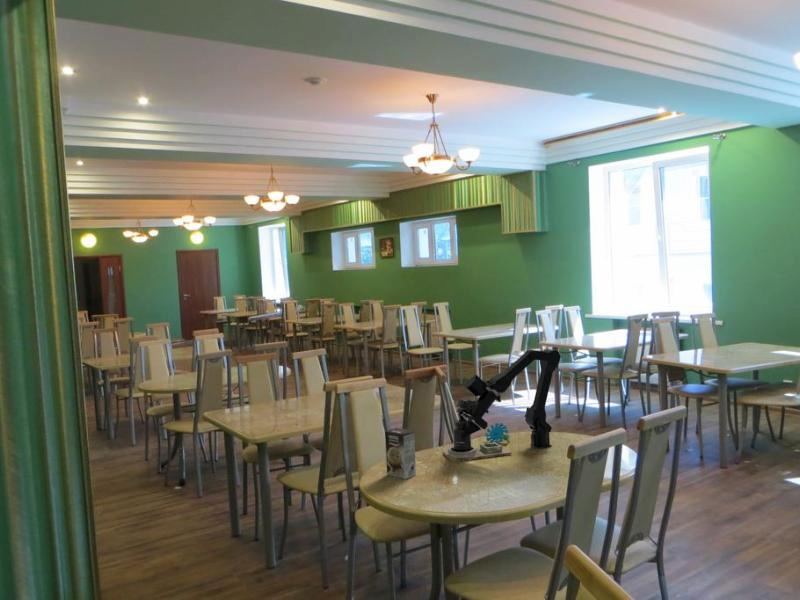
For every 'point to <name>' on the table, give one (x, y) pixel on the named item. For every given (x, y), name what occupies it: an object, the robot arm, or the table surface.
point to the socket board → (477, 452)
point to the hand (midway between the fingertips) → (458, 435)
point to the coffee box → (400, 453)
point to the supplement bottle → (458, 441)
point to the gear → (497, 433)
